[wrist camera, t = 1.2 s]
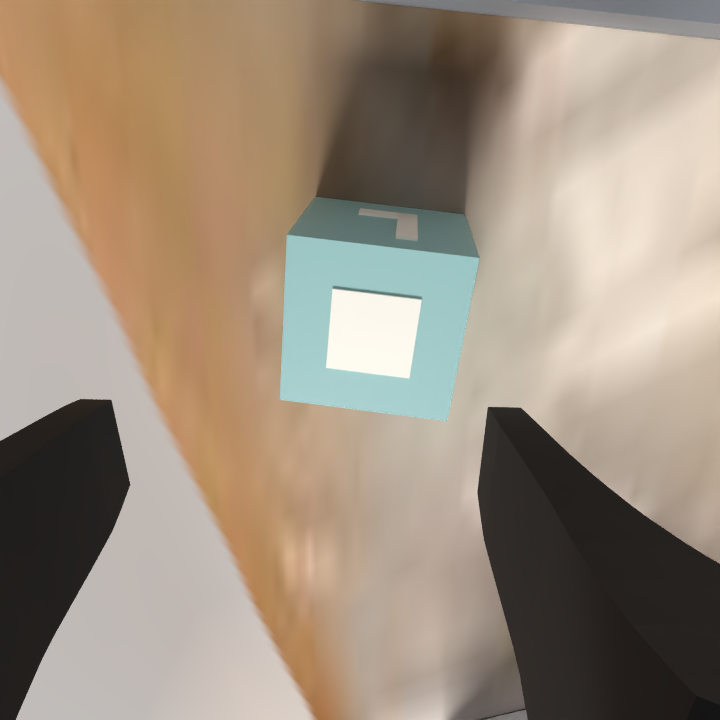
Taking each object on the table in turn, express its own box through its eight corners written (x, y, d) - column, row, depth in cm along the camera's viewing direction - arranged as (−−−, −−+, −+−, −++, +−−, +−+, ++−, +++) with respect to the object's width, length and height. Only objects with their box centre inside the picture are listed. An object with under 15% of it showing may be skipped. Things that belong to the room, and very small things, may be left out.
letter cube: (465, 211, 19) (480, 256, 15) (440, 348, 22) (447, 422, 17) (316, 193, 20) (286, 232, 15) (307, 331, 22) (279, 400, 17)
